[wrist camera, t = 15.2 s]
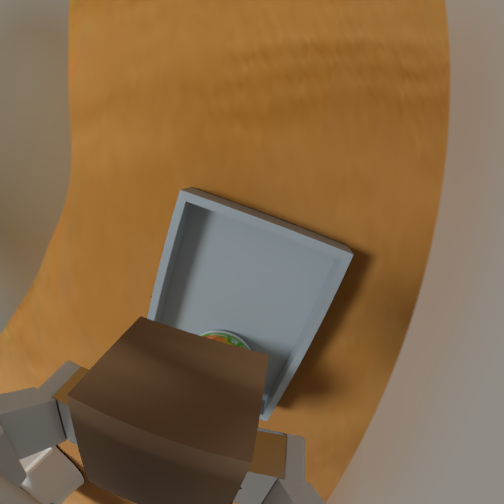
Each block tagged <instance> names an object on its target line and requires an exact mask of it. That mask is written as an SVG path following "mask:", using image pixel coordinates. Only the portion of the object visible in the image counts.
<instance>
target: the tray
mask: <svg viewBox="0 0 504 504" xmlns="http://www.w3.org/2000/svg"><path fill="white" fill-rule="evenodd" d="M353 255H354V254H353V253H352V251H351V250H350V248H349V247H348V245H345V244H343V243H340V242H338V241H335V240H333V239H330V238H328V237H325V236H323V235H320V234H318V233H315V232H312V231H310V230H307V229H305V228H302V227H299V226H297V225H294V224H292V223H289V222H286V221H284V220H281V219H278V218H276V217H273V216H270V215H268V214H265V213H262V212H260V211H257V210H254V209H252V208H249V207H246V206H243V205H241V204H238V203H235V202H232V201H230V200H227V199H224V198H221V197H218V196H216V195H213V194H210V193H207V192H204V191H201V190H198V189H196V188H193V187H190V188H185V189H181V190H180V192H179V196H178V199H177V202H176V206H175V209H174V213H173V216H172V220H171V223H170V227H169V231H168V234H167V238H166V242H165V246H164V249H163V253H162V257H161V261H160V265H159V269H158V273H157V277H156V281H155V286H154V290H153V294H152V299H151V303H150V307H149V312H148V317H147V319H150V320H153V321H156V322H158V323H161V324H165V325H168V326H171V327H174V328H177V329H180V330H183V331H186V332H190V333H193V334H196V335H199V336H200V335H201V334H203V333H205V332H208V331H213V330H222V331H227V332H230V333H233V334H235V335H237V336H239V337H240V338H241V339H243V340H244V341H245V342H246V343H247V345H248V346H249V347H250V349H251V350H253V351H256V352H260V353H264V354H268V355H269V359H268V366H267V372H266V379H265V385H264V392H263V398H262V404H261V411H260V417H259V419H261V420H264V421H267V420H268V419H269V417H270V415H271V414H272V412H273V410H274V409H275V407H276V405H277V403H278V402H279V400H280V398H281V397H282V395H283V393H284V391H285V390H286V388H287V386H288V384H289V383H290V381H291V379H292V377H293V375H294V374H295V372H296V370H297V368H298V366H299V365H300V363H301V361H302V359H303V357H304V355H305V353H306V352H307V350H308V348H309V346H310V344H311V342H312V340H313V338H314V336H315V334H316V332H317V331H318V329H319V327H320V325H321V323H322V321H323V319H324V317H325V315H326V313H327V311H328V309H329V306H330V304H331V302H332V300H333V298H334V296H335V294H336V292H337V290H338V288H339V286H340V283H341V281H342V279H343V277H344V275H345V273H346V270H347V268H348V266H349V264H350V262H351V259H352V257H353Z"/></svg>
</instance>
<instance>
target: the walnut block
mask: <svg viewBox="0 0 504 504" xmlns="http://www.w3.org/2000/svg"><path fill="white" fill-rule="evenodd" d="M268 359H269V355H268V354H264V353H260V352H256V351H253V350H249V349H245V348H241V347H238V346H234V345H230V344H227V343H223V342H220V341H216V340H213V339H209V338H206V337H203V336H199V335H196V334H193V333H190V332H186V331H183V330H180V329H177V328H174V327H171V326H168V325H165V324H161V323H158V322H156V321H153V320H150V319H147V318H144V317H140V318H139V319H138V320H137V321H136V322H135V323H134V324H133V325H132V326H131V327H130V328H129V329H128V330H127V331H126V332H125V333H124V334H123V335H122V336H121V337H120V338H119V339H118V340H117V341H116V343H115V344H114V345H113V346H112V347H111V348H110V349H109V350H108V351H107V352H106V353H105V354H104V355H103V356H102V357H101V358H100V359H99V361H98V362H97V363H96V364H95V365H94V366H93V367H92V368H91V369H90V370H89V371H88V372H87V373H86V374H85V375H84V377H83V378H82V379H81V380H80V381H79V382H78V383H77V384H76V385H75V386H74V387H73V388H72V390H71V391H70V392H69V393H68V394H67V399H68V404H69V410H70V414H71V419H72V424H73V428H74V432H75V436H76V440H77V444H78V448H79V452H80V456H81V459H82V463H83V466H84V469H85V473H86V476H87V479H88V482H90V483H92V484H94V485H96V486H98V487H100V488H102V489H104V490H106V491H109V492H111V493H113V494H115V495H118V496H120V497H122V498H124V499H127V500H129V501H132V502H134V503H137V504H232V503H233V501H234V499H235V497H236V495H237V493H238V491H239V489H240V487H241V485H242V482H243V480H244V478H245V476H246V474H247V472H248V470H249V468H250V465H251V463H252V458H253V452H254V447H255V441H256V435H257V429H258V423H259V417H260V411H261V404H262V398H263V392H264V385H265V379H266V372H267V366H268Z"/></svg>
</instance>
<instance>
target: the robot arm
mask: <svg viewBox="0 0 504 504" xmlns="http://www.w3.org/2000/svg"><path fill="white" fill-rule="evenodd" d="M88 371H89V370H88V369H86V368H84V367H81V366H79V365H77V364H75V363H73V362H72V361H68V362H65V363H64V364H63V365H62V366H61V367H60V368H59V369H58V370H57V371H56V372H55V373H54V374H53V375H52V376H51V377H50V378H49V379H48V380H47V381H45V382H44V383H43V384H42V385H41V386H40V387H39V388H38V389H37V388H35V387H32V388H28V389H23V390H19V391H14V392H9V393H4V394H0V504H62V503H63V502H64V501H65V500H66V498H67V497H68V496H69V495H70V494H71V493H73V492H74V491H75V490H76V489H77V488H78V487H80V486H81V485H83V484H84V479H83V476H82V474H81V473H80V471H79V470H78V469H77V468H76V466H75V465H74V464H73V463H72V462H71V461H70V460H69V459H68V458H67V457H66V456H65V455H64V454H63V453H62V452H61V451H60V450H59V449H58V448H57V447H56V446H55V445H57V444H60V443H62V442H64V441H66V439H67V440H68V441H70V442H72V443H74V444H76V445H78V444H77V440H76V436H75V432H74V428H73V424H72V419H71V414H70V410H69V404H68V399H67V394H68V393H69V392H70V391H71V390H72V388H73V387H74V386H75V385H76V384H77V383H78V382H79V381H80V380H81V379H82V378H83V377H84V375H85V374H86V373H87V372H88ZM233 502H236V503H240V504H326V503H325V502H324V501H323V499H322V498H321V497H320V495H319V494H318V493H317V492H316V490H315V489H314V487H313V486H312V485H311V483H307V482H305V438H304V437H302V436H297V435H291V434H285V433H281V432H276V431H270V430H266V429H261V428H258V429H257V435H256V441H255V447H254V452H253V458H252V463H251V465H250V468H249V470H248V472H247V474H246V476H245V478H244V480H243V482H242V485H241V487H240V489H239V491H238V493H237V495H236V497H235V499H234V501H233Z"/></svg>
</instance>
